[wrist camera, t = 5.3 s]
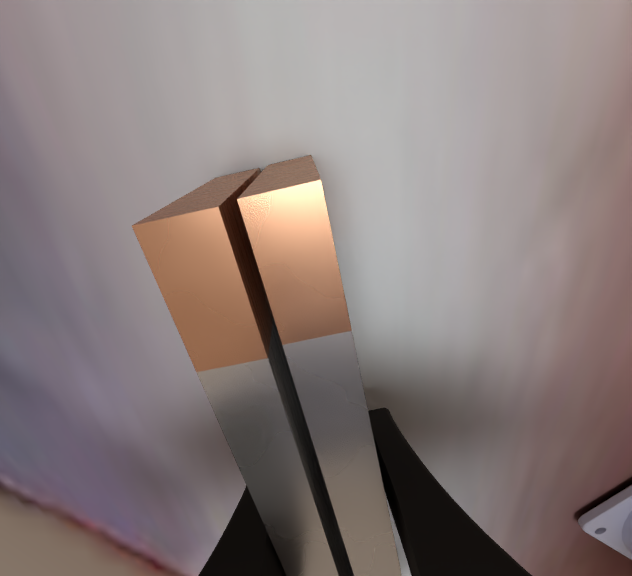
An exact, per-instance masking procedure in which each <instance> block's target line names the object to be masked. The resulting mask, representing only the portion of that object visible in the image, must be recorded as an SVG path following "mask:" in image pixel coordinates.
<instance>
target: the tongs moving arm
mask: <svg viewBox="0 0 632 576" xmlns="http://www.w3.org/2000/svg"><path fill="white" fill-rule="evenodd" d="M260 173H261V172H260V168H257V169H253V170H248V171H244V172H239V173H235V174H230V175H226V176H222V177H217V178H214V179H213V180H211V181H209V182H207V183H206V184H204V185H202V186H200V187H199V188H197V189H195V190H193V191H192V192H190V193H188V194H186V195H185V196H183V197H181V198H179V199H178V200H176V201H174V202H172V203H171V204H169V205H167V206H165V207H164V208H162V209H160V210H158V211H157V212H155V213H153V214H151V215H150V216H148V217H146V218H144V219H143V220H141V221H139V222H137V223H136V224H134V225H132V228H133V230H134V232H135V234H136V237H137V239H138V241H139V243H140V246H141V248H142V250H143V252H144V255H145V257H146V259H147V261H148V264H149V266H150V268H151V270H152V273H153V275H154V277H155V279H156V282H157V284H158V286H159V288H160V291H161V293H162V295H163V297H164V300H165V302H166V304H167V307H168V309H169V311H170V313H171V316H172V318H173V320H174V322H175V325H176V327H177V329H178V331H179V334H180V336H181V338H182V340H183V343H184V345H185V347H186V349H187V352H188V354H189V356H190V358H191V361H192V363H193V365H194V367H195V370H196V372H197V374H198V376H199V379H200V381H201V383H202V386H203V388H204V390H205V392H206V395H207V397H208V399H209V401H210V404H211V406H212V408H213V410H214V413H215V415H216V417H217V419H218V422H219V424H220V426H221V428H222V431H223V433H224V435H225V437H226V440H227V442H228V444H229V446H230V449H231V451H232V453H233V455H234V458H235V460H236V462H237V465H238V467H239V469H240V471H241V474H242V476H243V478H244V480H245V483H246V485H247V487H248V489H249V492H250V494H251V496H252V498H253V501H254V503H255V505H256V507H257V510H258V512H259V514H260V516H261V519H262V521H263V523H264V525H265V528H266V530H267V532H268V534H269V537H270V539H271V541H272V544H273V546H274V548H275V550H276V553H277V555H278V557H279V559H280V562H281V564H282V566H283V568H284V571H285V573H286V575H287V576H354V574H353V571H352V567H351V564H350V561H349V558H348V554H347V551H346V548H345V545H344V542H343V538H342V535H341V532H340V529H339V526H338V522H337V519H336V516H335V513H334V509H333V506H332V503H331V500H330V497H329V493H328V490H327V487H326V484H325V481H324V477H323V474H322V471H321V468H320V464H319V461H318V458H317V455H316V452H315V448H314V445H313V442H312V439H311V436H310V432H309V429H308V426H307V423H306V419H305V416H304V413H303V410H302V407H301V403H300V400H299V397H298V394H297V391H296V387H295V384H294V381H293V378H292V375H291V371H290V368H289V365H288V362H287V358H286V355H285V352H284V349H283V346H282V342H281V339H280V336H279V333H278V330H277V326H276V323H275V320H274V317H273V313H272V310H271V307H270V304H269V301H268V297H267V294H266V291H265V288H264V285H263V281H262V278H261V275H260V272H259V268H258V265H257V262H256V259H255V256H254V252H253V249H252V246H251V243H250V240H249V236H248V233H247V230H246V227H245V223H244V220H243V217H242V214H241V211H240V207H239V204H238V201H237V199H238V197H239V196H240V195H241V194H242V193H243V192H244V191H245V190H246V189H247V188H248V186H249V185H250V184H251V183H252V182H253V181H254V180H255V179H256V178H257V177H258V176H259V174H260Z"/></svg>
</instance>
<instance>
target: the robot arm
mask: <svg viewBox="0 0 632 576" xmlns="http://www.w3.org/2000/svg"><path fill="white" fill-rule="evenodd" d="M368 413H369V418H370V423H371V428H372V433H373V438H374V443H375V447H376V452H377V457H378V462H379V467H380V472H381V477H382V482H383V487H384V490H385V493H386V496H387V500H388V503H389V506H390V509H391V512H392V515H393V518H394V521H395V524H396V527H397V530H398V533H399V536H400V540H401V543H402V546H403V549H404V552H405V555H406V558H407V561H408V565H409V568H410V572H411V575H412V576H532V575H531V574H530V573H528V572H527V571H526V570H525V569H524V568H523V567H521V566H520V565H519V564H518V563H517V562H516V561H515V560H514V559H513V558H512V557H511V556H510V555H509V554H507V553H506V552H505V551H504V550H503V549H502V548H501V547H500V546H499V545H498V544H497V543H496V542H495V541H493V540H492V539H491V538H490V537H489V536H488V535H487V534H486V533H485V532H484V531H483V530H482V529H481V528H480V527H479V526H478V525H477V524H476V523H475V522H474V521H473V520H472V519H471V518H470V517H469V516H468V515H467V514H466V513H465V512H464V510H463V509H462V508H461V507H460V506H459V505H458V504H457V503H456V502H455V501H454V500H453V499H452V497H451V496H450V495H449V494H448V493H447V492H446V491H445V490H444V488H443V487H442V486H441V485H440V484H439V482H438V481H437V480H436V479H435V478H434V476H433V475H432V474H431V473H430V472H429V470H428V469H427V468H426V467H425V465H424V464H423V463H422V461H421V460H420V459H419V457H418V456H417V455H416V453H415V452H414V451H413V449H412V448H411V446H410V445H409V444H408V442H407V441H406V439H405V438H404V436H403V435H402V433H401V432H400V430H399V428H398V427H397V425H396V423H395V422H394V420H393V418H392V416H391V414H390V412H389V410H388V409H386V408H380V409H375V410H370V411H368ZM578 524H579V525H580V526H581V528H582V529H583V530H584V532H586V533H588V534H589V535H591V536H593V537H594V538H596V539H598V540H599V541H601V542H603V543H604V544H606V545H608V546H609V547H611V548H613V549H614V550H616V551H618V552H619V553H621V554H623V555H624V556H626V557H628V558H629V559H631V560H632V485H630V486H629V487H627V488H625V489H624V490H622V491H621V492H619V493H617V494H616V495H614V496H613V497H611V498H609V499H608V500H606V501H604V502H603V503H601V504H600V505H598V506H596V507H595V508H593V509H592V510H590V511H588V512H587V513H585V514H583V515H582V516H581V517H580V518H579V519H578ZM198 576H287V575H286V573H285V571H284V568H283V566H282V564H281V562H280V559H279V557H278V555H277V553H276V550H275V548H274V546H273V544H272V541H271V539H270V537H269V534H268V532H267V530H266V528H265V525H264V523H263V521H262V519H261V516H260V514H259V512H258V510H257V507H256V505H255V503H254V501H253V498H252V496H251V494H250V492H249V489H248V487H247V486H246V488H245V491H244V493H243V495H242V497H241V499H240V501H239V503H238V505H237V507H236V509H235V511H234V513H233V516H232V518H231V520H230V522H229V524H228V525H227V527H226V529H225V531H224V533H223V535H222V537H221V538H220V540H219V542H218V544H217V546H216V547H215V549H214V551H213V552H212V554H211V556H210V558H209V559H208V561H207V563H206V564H205V566H204V568H203V569H202V571H201V572H200V574H199V575H198Z"/></svg>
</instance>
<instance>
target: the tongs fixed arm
mask: <svg viewBox="0 0 632 576" xmlns="http://www.w3.org/2000/svg"><path fill="white" fill-rule="evenodd" d="M237 201H238V204H239V207H240V211H241V214H242V217H243V220H244V223H245V227H246V230H247V233H248V236H249V240H250V243H251V246H252V249H253V252H254V256H255V259H256V262H257V265H258V268H259V272H260V275H261V278H262V281H263V285H264V288H265V291H266V294H267V297H268V301H269V304H270V307H271V310H272V313H273V317H274V320H275V323H276V326H277V330H278V333H279V336H280V339H281V342H282V346H283V349H284V352H285V355H286V358H287V362H288V365H289V368H290V371H291V375H292V378H293V381H294V384H295V387H296V391H297V394H298V397H299V400H300V403H301V407H302V410H303V413H304V416H305V419H306V423H307V426H308V429H309V432H310V436H311V439H312V442H313V445H314V448H315V452H316V455H317V458H318V461H319V464H320V468H321V471H322V474H323V477H324V481H325V484H326V487H327V490H328V493H329V497H330V500H331V503H332V506H333V509H334V513H335V516H336V519H337V522H338V526H339V529H340V532H341V535H342V538H343V542H344V545H345V548H346V551H347V554H348V558H349V561H350V564H351V567H352V571H353V574H354V576H402V575H401V570H400V565H399V560H398V555H397V550H396V546H395V541H394V536H393V531H392V526H391V521H390V516H389V511H388V506H387V501H386V496H385V492H384V487H383V482H382V477H381V472H380V467H379V462H378V457H377V452H376V447H375V443H374V438H373V433H372V428H371V423H370V418H369V413H368V408H367V403H366V398H365V393H364V389H363V384H362V379H361V374H360V369H359V364H358V359H357V354H356V349H355V344H354V340H353V335H352V330H351V325H350V320H349V315H348V310H347V305H346V300H345V295H344V290H343V286H342V281H341V276H340V271H339V266H338V261H337V256H336V251H335V246H334V241H333V237H332V232H331V227H330V222H329V217H328V212H327V207H326V202H325V197H324V192H323V187H322V183H321V179H320V176H319V174H318V171H317V169H316V166H315V164H314V161H313V159H312V156H311V155H309V156H305V157H300V158H296V159H292V160H288V161H284V162H279V163H275V164H271V165H268V166H267V167H266V168H265V169H264V170H263V171H262V172H261V173H260V174H259V176H258V177H257V178H256V179H255V180H254V181H253V182H252V183H251V184H250V185H249V186H248V188H247V189H246V190H245V191H244V192H243V193H242V194H241V195H240V196H239V197H238V199H237Z"/></svg>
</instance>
